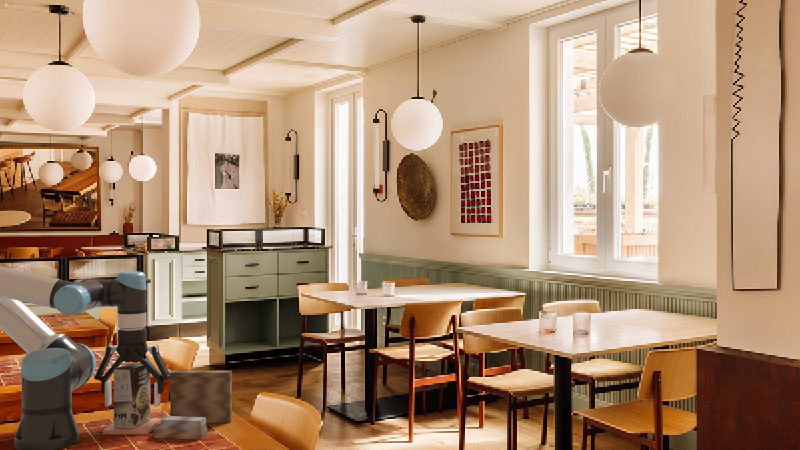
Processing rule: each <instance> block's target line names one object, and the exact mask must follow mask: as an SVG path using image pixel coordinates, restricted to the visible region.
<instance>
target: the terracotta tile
mask: <svg viewBox="0 0 800 450" xmlns="http://www.w3.org/2000/svg"><path fill="white" fill-rule="evenodd" d="M161 419H162V418H159V417H158V418H155V417H154V418H152V417H150V421H148V422H146V423H145V424H143V425H141V426H139V427H137V428H135V429H125V428H114V422H112V423H111V424H109V425H108V426H107V427H105V428H104V429H103V430H102V435H149V433H151V432H152V431H154V429H155V428H156V427H158V426H160V425H161Z"/></svg>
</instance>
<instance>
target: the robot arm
mask: <svg viewBox="0 0 800 450" xmlns="http://www.w3.org/2000/svg"><path fill="white" fill-rule="evenodd" d="M147 289H148V288H147V278H146V274H145V273H144V272H143V271H136V270H135V271H121V272H118V273H117V275H116V278H114V279H103V278H102V279H101V278H100V279H98V278H97V279H94V278H93V279H92V278H91V279H90V278H84V279H76V280H74V281H68V280H62V279H60V278H59V279H58V278H55V277H51V276H46V275H41V274H37V273H32V272H28V271H22V270H18V269H13V268H11V267H5V266H2V265H1V266H0V329H1V330H2V331H3V332H4V333H5V334H6V335H7V336H8V337H9V338H10V339H12V340H13V341H14V343H16V344H17V345H18V346H19V347H20V348H22V350H24V352H26V353H27V354H26V355H25V356H23V359H22V360H21V369H20V375H21V377H20V379H21V381H20V382H21V418H20V421H19V424H18V427H17V429H16V432H15V436H14V448H15V449H16V450H59V449H65V448H68V447H70V446H72V445H75V444H77V443H78V442H79V441H80V430H79V427H78V423H77V421H76V419H75V416H74V414H73V409H72V404H73V403H72V401H73V400H72V398H73V397H72V396H73V395H72V394H73V393H72V392H73V391H74V390H77V389H79V388H81V387H83V386H84V385H86V384H87V382H89V381H90V380H91V378H93V376H94V378H93V379H94V380H95V381H99V382H101V393H102V394H104V407H109V406H110V405H112V380H110V378H111V377H112V375H114V369H116V368H119V367H121V365H122V364H123V363H127V364H130V363H135V364H136V363H141V364H143V365H144V366H145V368H146V369H147V370H148V371H149V372H150V376H152V377H153V378H154V379H155V382H154V383H153V384H154V387H153V390H154V392H153V393H154V395H153V397H154V402H153V403H154V405H153V406H154V408H155V407H156V408H157V407H158V406H160V405H161V395H162V394H163V393H164V391H165V386H164V385H165V383H164V381H167V380H170V377H171V375H170V373H169V369H168V367H167V366H166V363H165V362H164V359H163V358H162V356H161V353H160V349H159V345H158V344H155V345H152V346H151V345H150V346H148V344H147V338H148V337H147V336H148V334H147V333H148V331H147V328H146V327H147ZM25 303H27V304H30V305H31V304H33V305H36V306H41V307H46V308H50V309H55V310H57V311H58V312H59V313H61V314H63V315H66V316H71V315H72V316H75V315H79V314H82V313H84V312H86V311H89V310H92V309H94V308H100V307H101V308H105V307H106V308H107V307H108V308H110V307H112V308H113V307H114V308H115V307H117V308H116V309H117V311H116V312H117V328H118V330H117V346H114V345H113V344H110V345H108V346H106V348H105V352H104V356H103V358H102V360H101V362H100V363H99V366H98V369H97V370H96V368H97V359H96V356H95V354H94V351H93V350H91V349H90V347H88V346H87V345H85V344H83V343H76V342H74V341H73V339H71V338H70V337H69V336H68V335H67V334H66V333H57V332H55V331H54V330H53V329H52V328H51V327H50V326H49V325H47V324H46V323H45V321H44V320H42V319H41V318H40V317H39V316H38V315H36V313H35V312H33V310H31V309H30V307H28V306H27V305H25ZM148 352H149V354H150V355H151V356H152V358H153V360H154V363H155V364H156V366H157V367H156V366H155V365H154V364H153V362H152V361H150V358H149V357H148V355H147V353H148ZM115 353H117V354H118V357H117V359H116V360H115V362H114V363H113V364H112V365H111V367H109V369H108V370H107V367H108V365H109V363H110V361H111V359H112V357H113V354H114V355H115ZM106 370H107V371H106ZM104 373H105V374H104Z"/></svg>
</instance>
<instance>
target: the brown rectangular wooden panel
mask: <svg viewBox="0 0 800 450" xmlns="http://www.w3.org/2000/svg"><path fill="white" fill-rule="evenodd" d="M169 373H170V375H171V377H170V378H169V386H170V387H169V388H170V389H169V397H170V399H169V401H170V405H169V406H170V407H169V410H170V411H169V412H170V413H169V414H170V415H169V416H181V417H206V423H232V422H233V411H232V410H233V408H232V406H233V405H232V404H233V402H232V401H233V395H232V394H233V393H232V392H233V390H232V388H233V387H232V386H233V383H232V382H233V381H232V377H233V370H180V369H179V370H175V369H174V370H171V371H170V372H169Z"/></svg>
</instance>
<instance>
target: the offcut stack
mask: <svg viewBox="0 0 800 450" xmlns="http://www.w3.org/2000/svg"><path fill="white" fill-rule="evenodd" d="M160 419H161V423H160V424H159V425H158V426H157V427H155V428H154V429H153V438H154V439H155V438H156V439H181V440H203V439H204V438H205V437H206V435H207V436H208V426H207V422H206V417H181V416H170V415H166V416H165V417H164V416H163V418H160ZM202 438H203V439H202Z"/></svg>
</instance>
